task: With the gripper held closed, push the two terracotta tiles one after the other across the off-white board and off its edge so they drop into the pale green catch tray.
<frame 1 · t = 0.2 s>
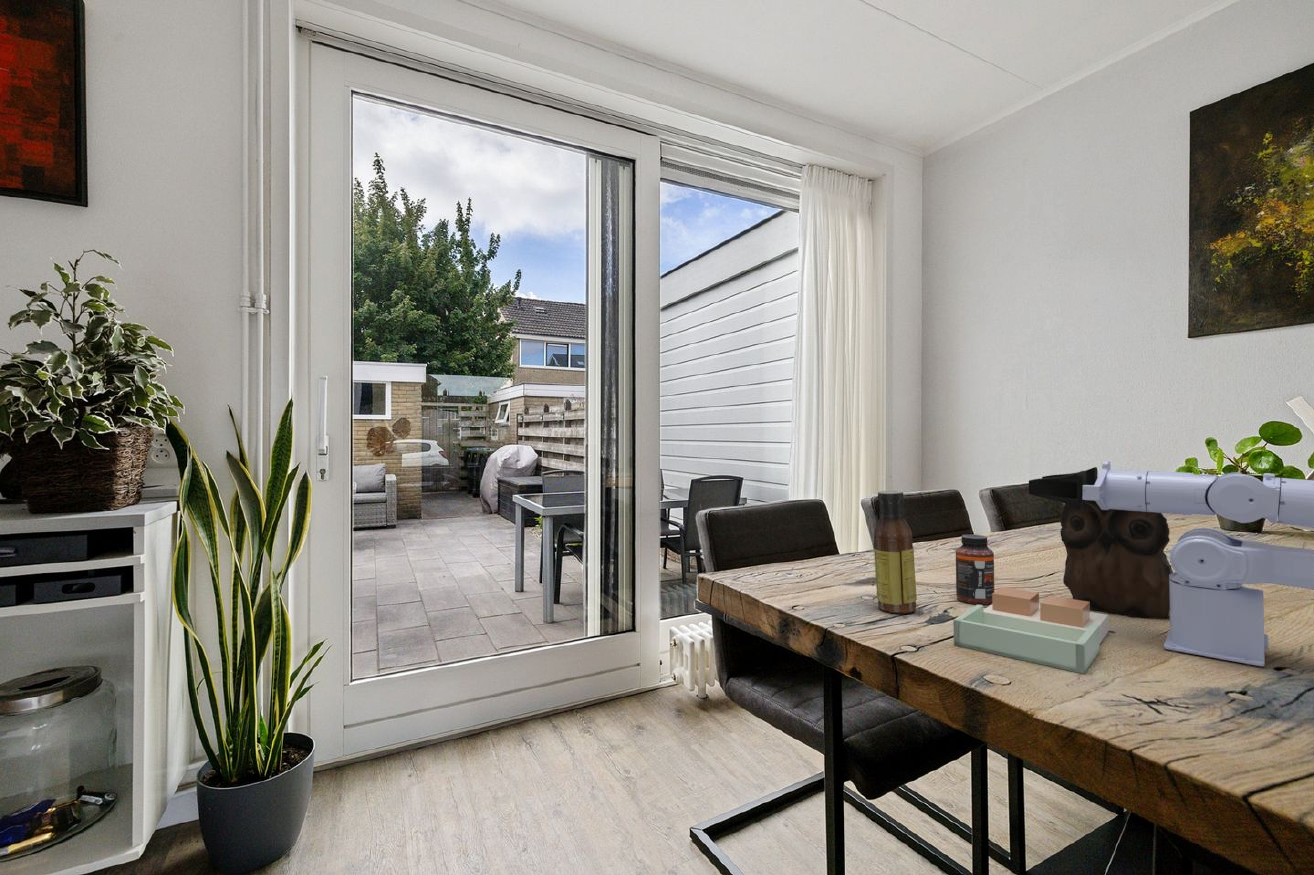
hand: (1035, 484, 94), 21 cm above the table, tool horizontal, fingers open, 7 cm apart
supplement bottle: (975, 601, 105), on the table
tile A: (1065, 619, 86), point 2 cm above the table, touching board
tray: (1025, 648, 82), on the table
board: (1043, 630, 89), on the table
tile B: (1015, 609, 91), point 2 cm above the table, touching board
sauce bottle: (895, 610, 101), on the table
owl: (1122, 608, 99), on the table
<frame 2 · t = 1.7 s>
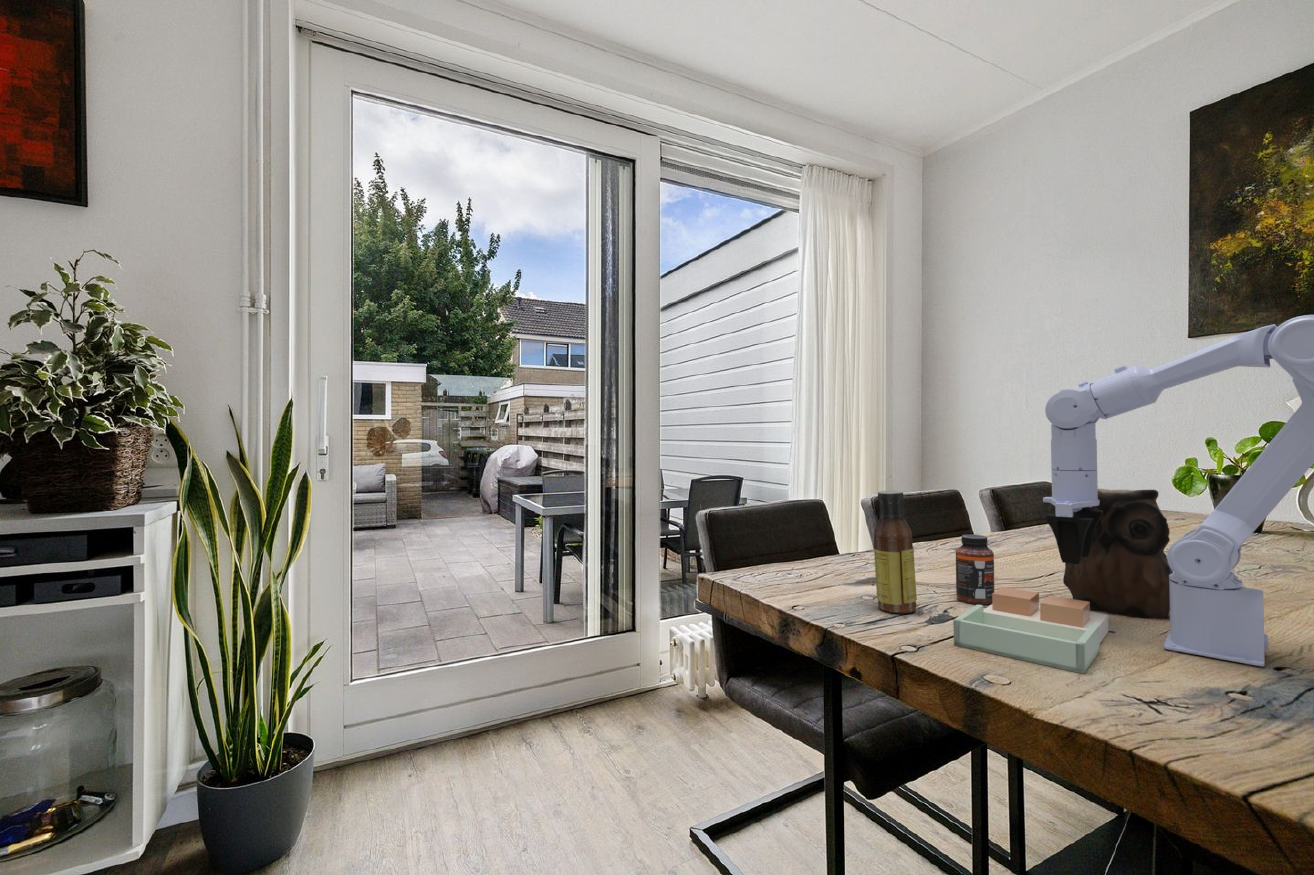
hand: (1075, 559, 91), 10 cm above the table, tool pointing down, fingers open, 6 cm apart
nothing on the table moved.
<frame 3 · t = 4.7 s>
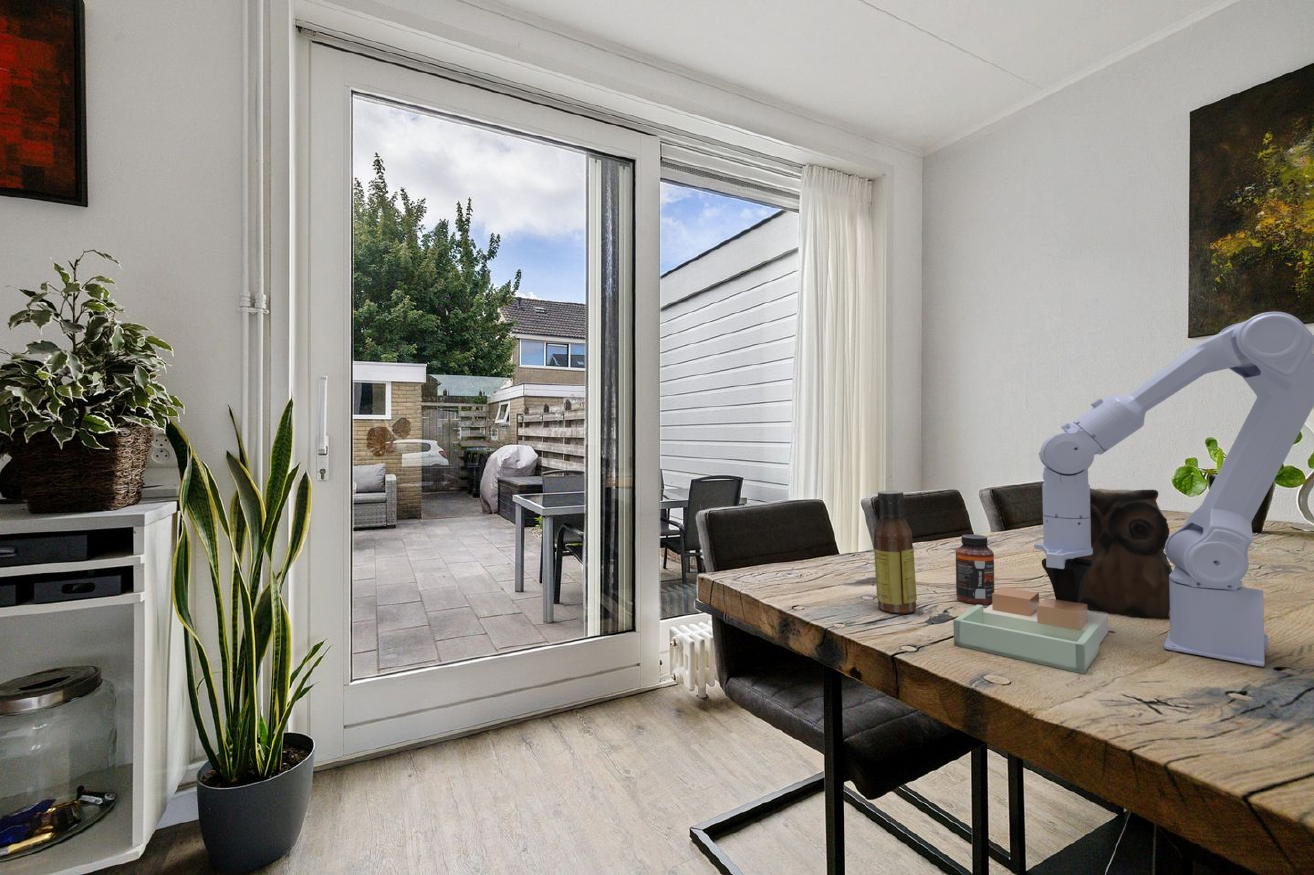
hand: (1067, 609, 87), 4 cm above the table, tool pointing down, fingers closed
tile A: (1062, 622, 85), point 3 cm above the table
everything else where it was.
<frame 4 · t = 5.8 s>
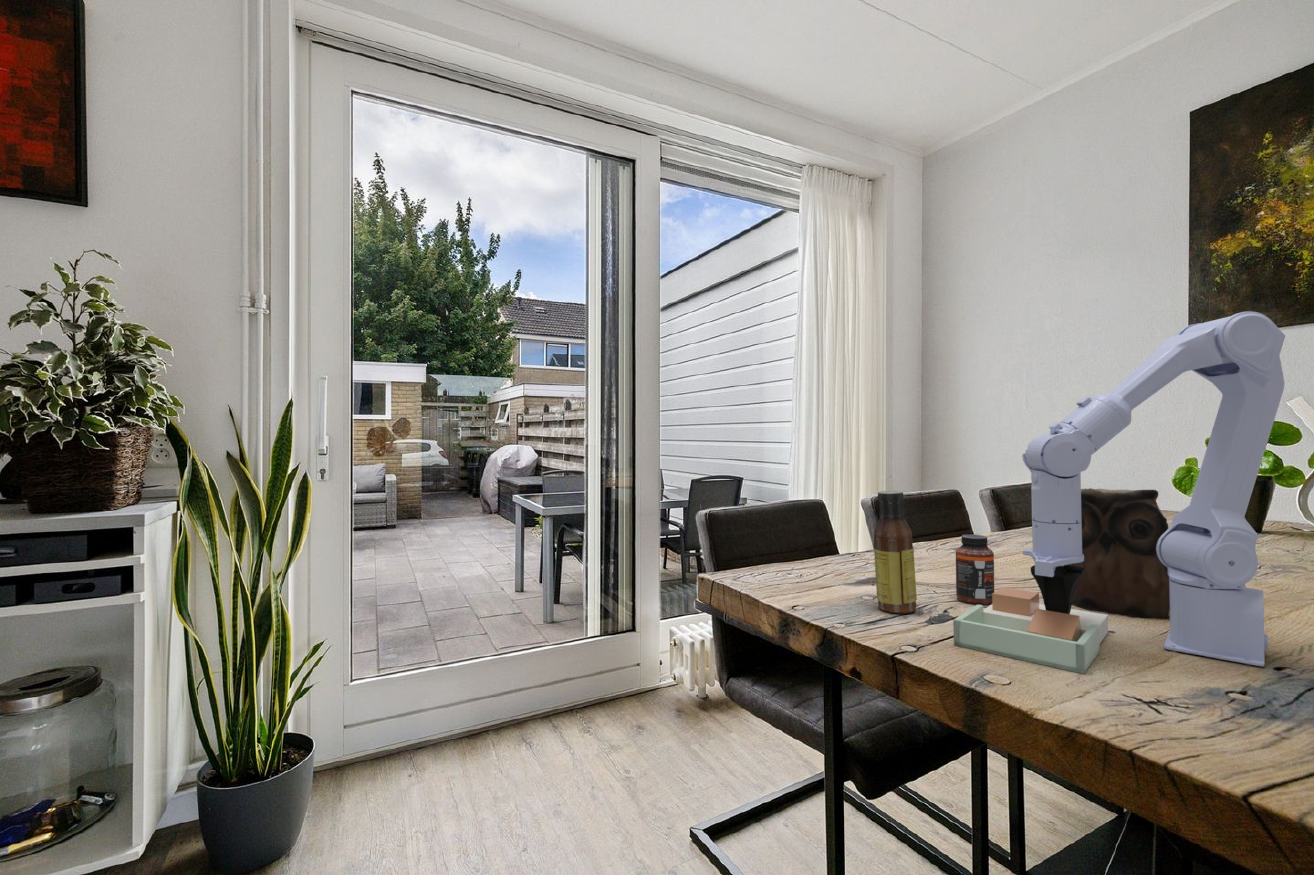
hand: (1058, 619, 83), 4 cm above the table, tool pointing down, fingers closed
tile A: (1055, 638, 81), point 2 cm above the table, tilted 24°, touching gripper, tray
everything else where it was.
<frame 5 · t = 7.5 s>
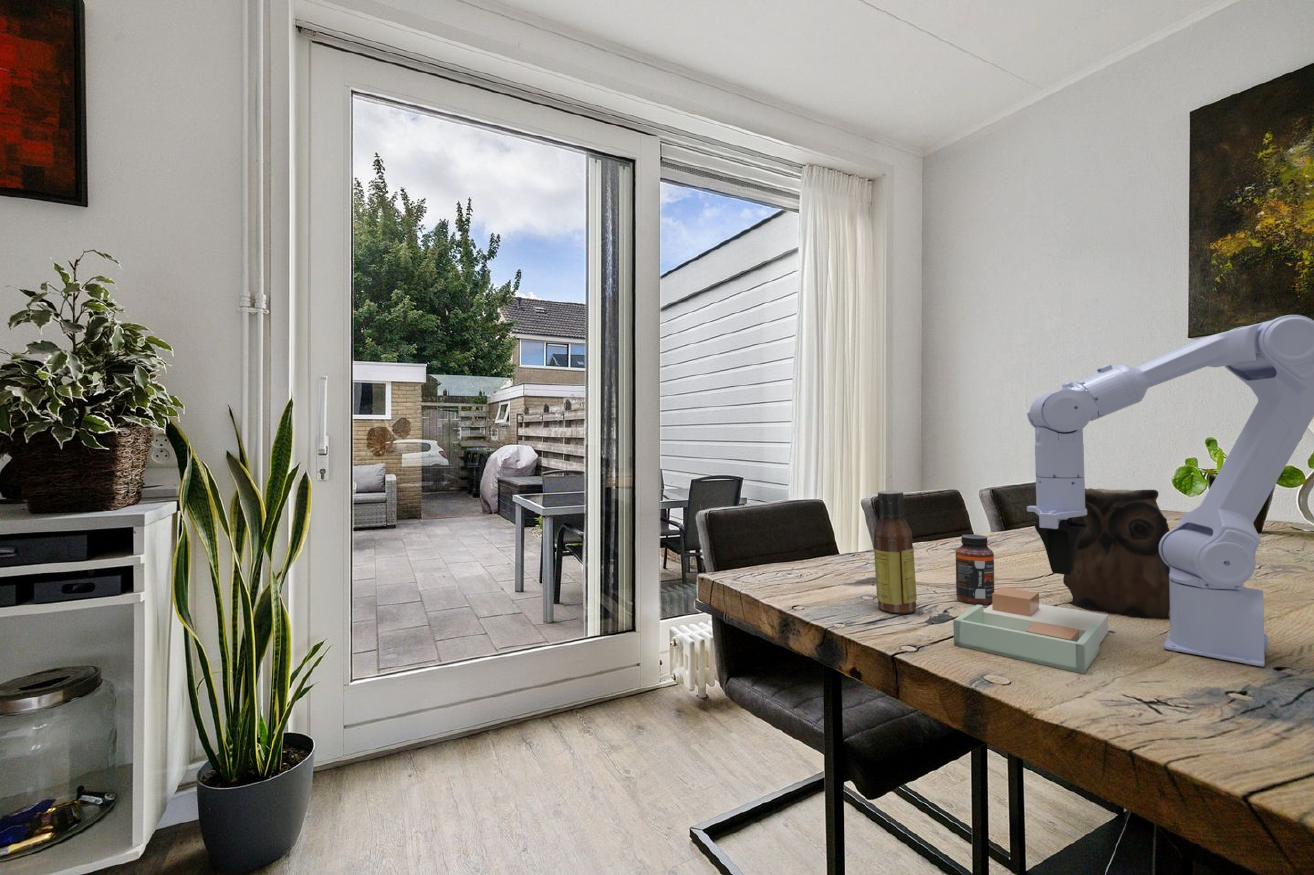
hand: (1062, 573, 84), 9 cm above the table, tool pointing down, fingers closed
tile A: (1052, 648, 80), resting on tray
everything else where it was.
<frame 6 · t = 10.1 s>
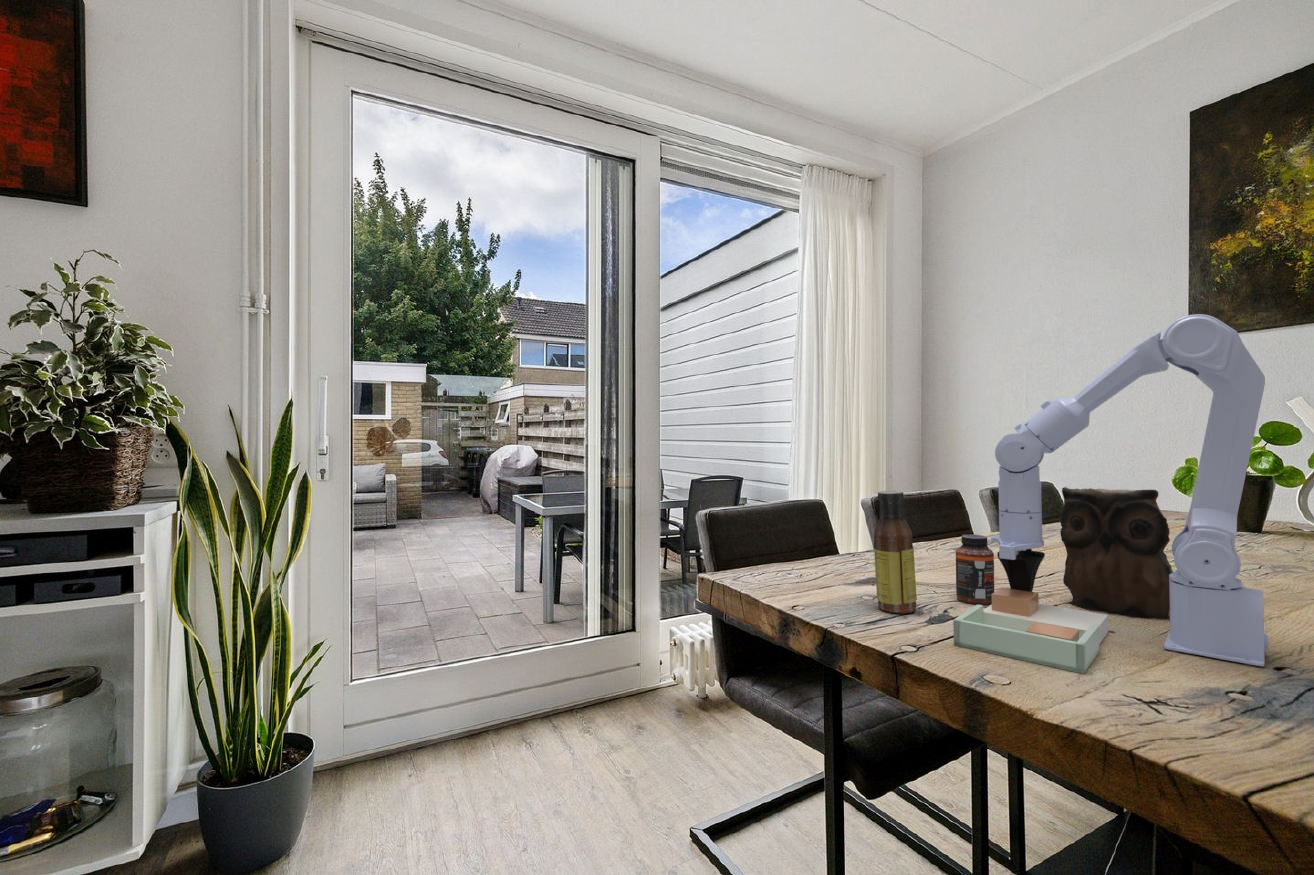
hand: (1021, 598, 93), 4 cm above the table, tool pointing down, fingers closed
tile B: (1015, 609, 91), point 2 cm above the table, touching board, gripper
everything else where it was.
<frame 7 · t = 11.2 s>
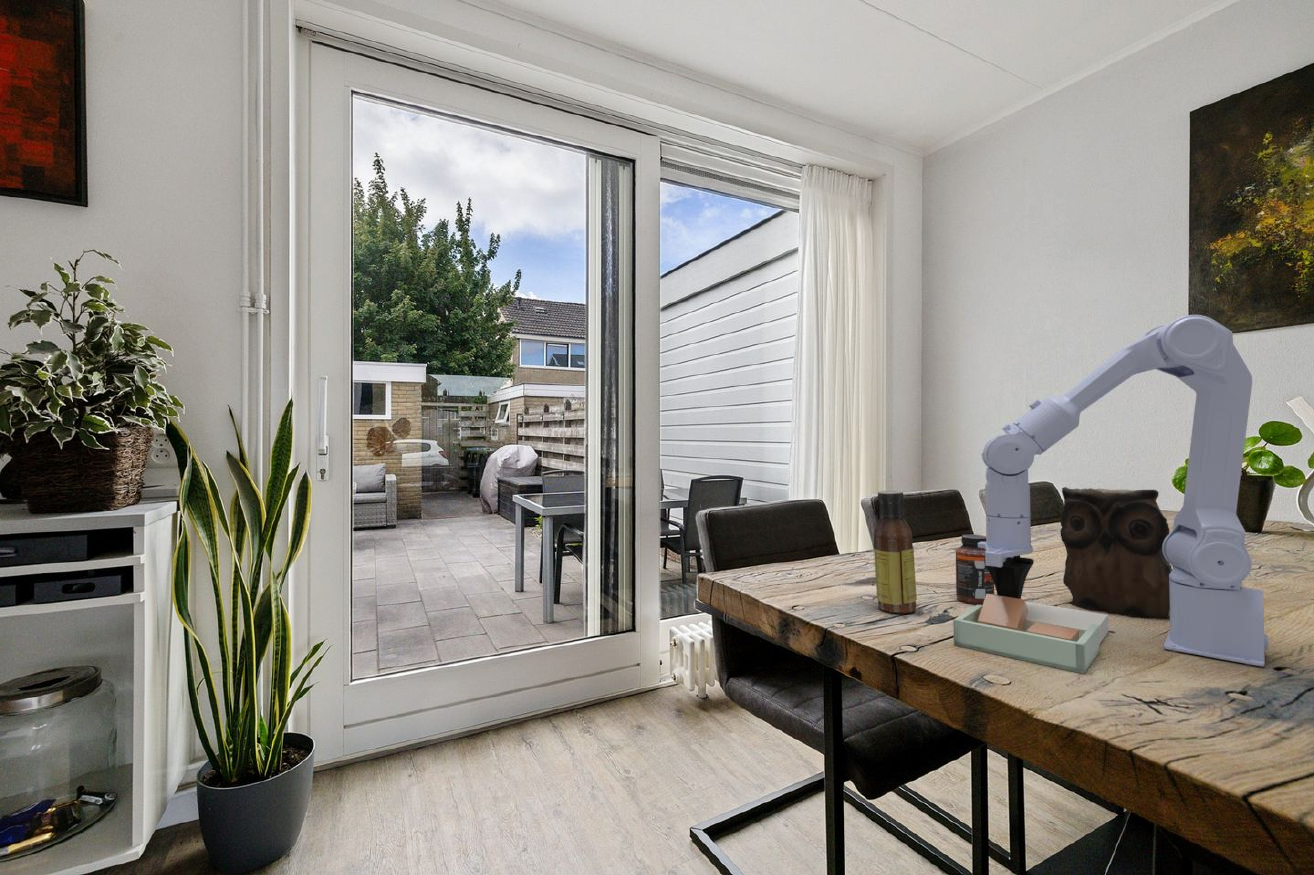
hand: (1009, 607, 89), 4 cm above the table, tool pointing down, fingers closed
tile B: (1004, 621, 87), point 2 cm above the table, tilted 39°, touching gripper
everything else where it was.
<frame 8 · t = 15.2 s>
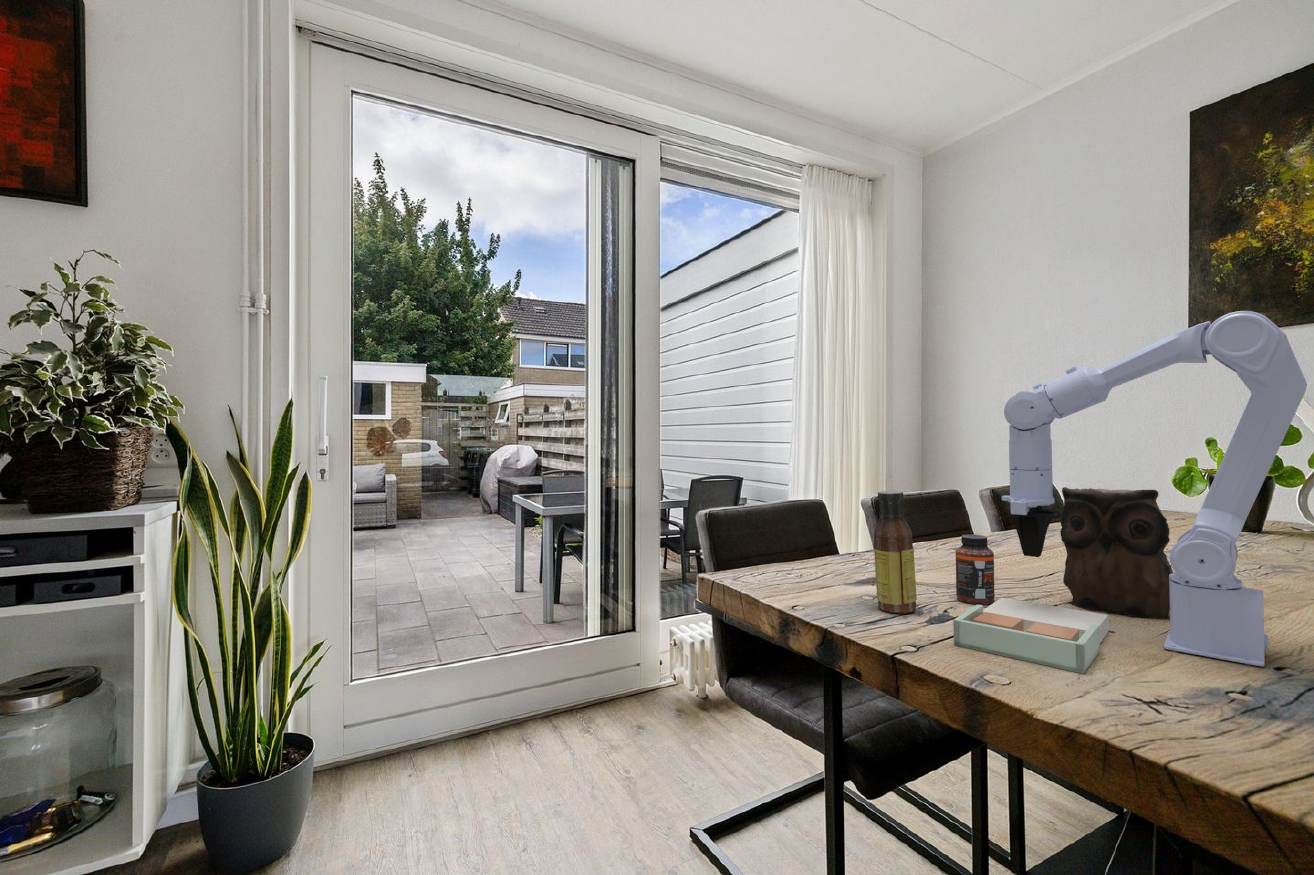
hand: (1032, 555, 94), 10 cm above the table, tool pointing down, fingers closed
tile B: (998, 636, 85), resting on tray
everything else where it was.
at the end: tile A inside the target area on the tray (3.3 cm from its centre), point 0.5 cm above the tray's base; tile B inside the target area on the tray (4.0 cm from its centre), point 0.5 cm above the tray's base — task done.
